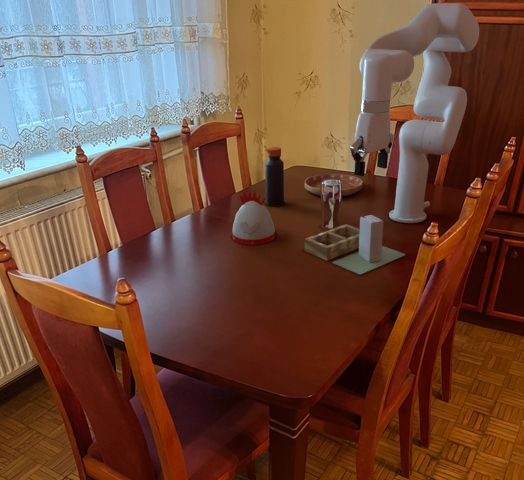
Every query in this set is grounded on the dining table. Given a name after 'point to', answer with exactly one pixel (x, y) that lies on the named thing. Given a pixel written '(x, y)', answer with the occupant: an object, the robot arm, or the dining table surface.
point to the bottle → (274, 177)
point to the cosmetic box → (370, 238)
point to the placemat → (363, 266)
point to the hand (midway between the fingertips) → (370, 171)
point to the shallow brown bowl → (348, 182)
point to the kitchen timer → (253, 222)
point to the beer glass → (330, 203)
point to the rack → (333, 242)
